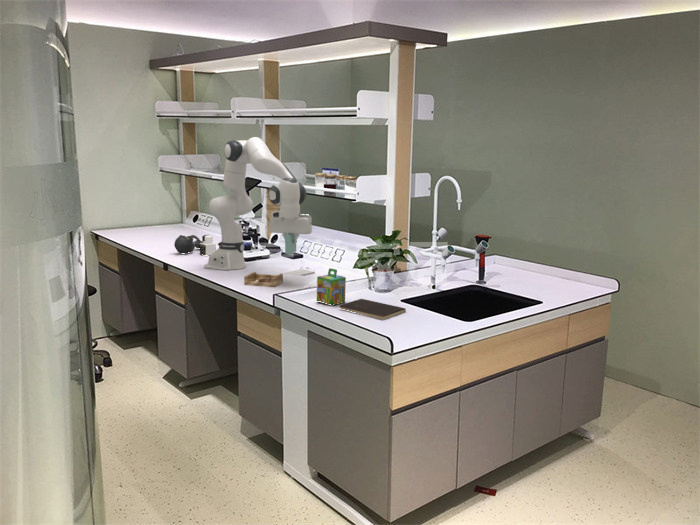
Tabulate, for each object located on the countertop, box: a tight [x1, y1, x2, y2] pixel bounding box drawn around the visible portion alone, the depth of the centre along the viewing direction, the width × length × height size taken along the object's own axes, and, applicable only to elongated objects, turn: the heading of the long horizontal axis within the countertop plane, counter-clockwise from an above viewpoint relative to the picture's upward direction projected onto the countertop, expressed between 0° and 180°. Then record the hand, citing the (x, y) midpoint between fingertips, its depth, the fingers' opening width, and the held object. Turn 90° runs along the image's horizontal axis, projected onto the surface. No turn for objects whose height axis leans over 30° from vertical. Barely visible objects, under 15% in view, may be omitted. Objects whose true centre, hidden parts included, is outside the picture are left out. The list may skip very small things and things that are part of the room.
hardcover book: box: [338, 298, 406, 321], centre depth 258 cm, size 16×23×2 cm
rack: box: [243, 271, 284, 288], centre depth 299 cm, size 15×11×5 cm
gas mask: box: [173, 234, 203, 254], centre depth 381 cm, size 14×9×25 cm
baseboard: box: [279, 266, 316, 277], centre depth 320 cm, size 31×3×12 cm
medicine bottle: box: [199, 234, 217, 256], centre depth 373 cm, size 7×7×12 cm
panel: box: [284, 233, 297, 255], centre depth 291 cm, size 8×2×9 cm, turn 164°
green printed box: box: [316, 268, 347, 306], centre depth 268 cm, size 9×9×15 cm
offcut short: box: [258, 277, 271, 282], centre depth 297 cm, size 5×4×2 cm
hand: (290, 242), depth 291 cm, fingers closed on panel, 2 cm apart
